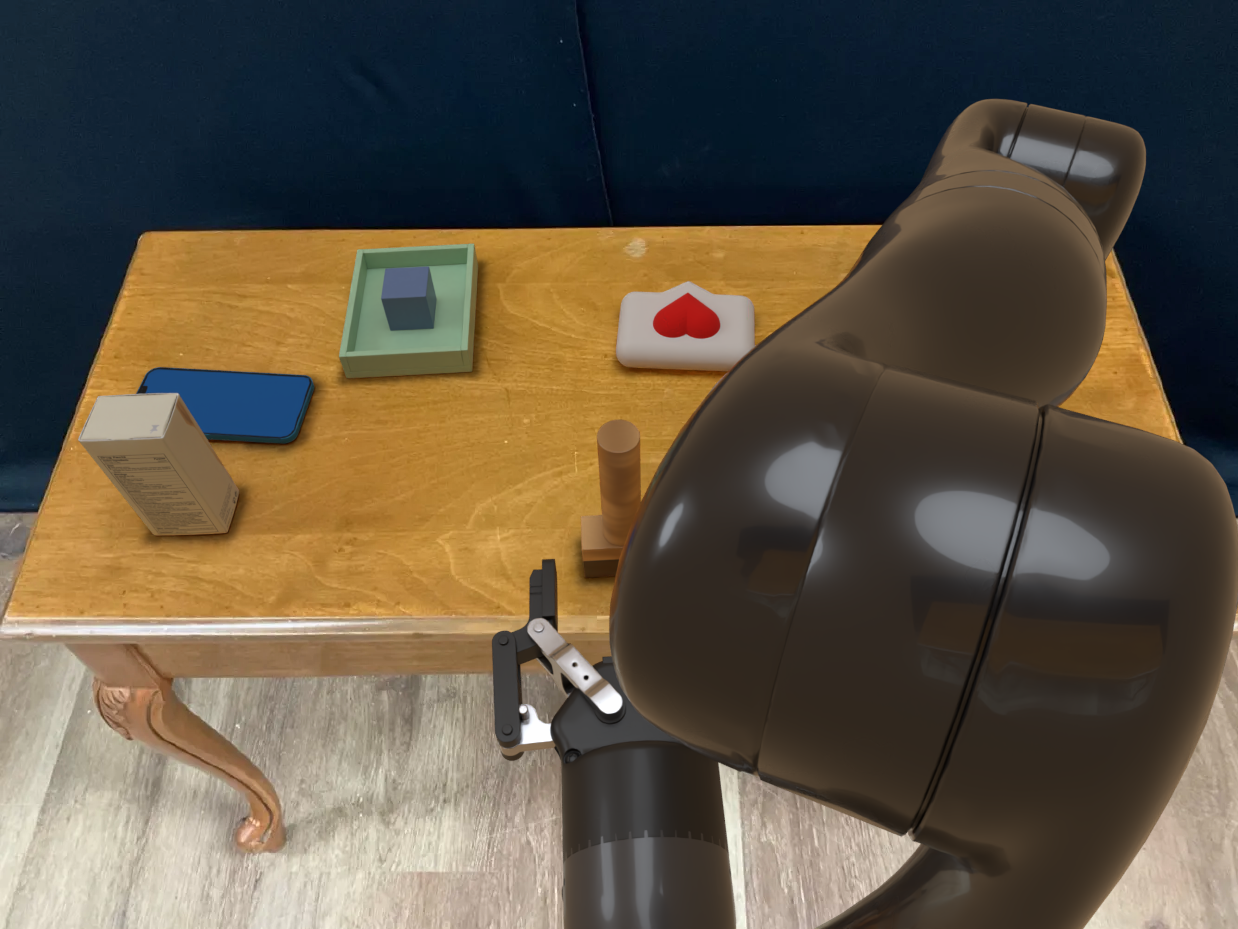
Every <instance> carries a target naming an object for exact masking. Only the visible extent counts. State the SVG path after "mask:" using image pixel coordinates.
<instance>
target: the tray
mask: <svg viewBox="0 0 1238 929" xmlns="http://www.w3.org/2000/svg"><path fill="white" fill-rule="evenodd" d="M426 266H429V268H430V273H431V277H432V281H433V285H434V290H435V294H436V298H437V299H436V310H435V321H434V328H433V329H414V330H395V331H390V328H389V324H388V321H387V318H386V314H385V311H384V307H383V304H382V301H381V295H382V288H383V281H384V274H385V269H387V268H407V267H426ZM478 275H479V263H478V257H477V251H476V246H475V243H457V244H456V243H455V244H439V245H435V244H434V245H419V246H418V245H417V246H403V247H402V246H399V247H379V248H361V249H360V248H358V249H356V255H355V261H354V267H353V272H352V278H351V283H350V284H351V285H350V290H349V296H348V302H347V307H346V313H345V319H344V324H343V329H342V330H343V331H342V336H341V342H340V349H339V353H338V358H339V361H340V364H341V367H342V369H343V373H344V375H345V378H346V379H360V378H362V379H363V378H381V377H399V376H419V375H435V374H454V373H455V374H456V373H472V372H473V365H474V348H475V347H474V346H475V332H476V331H475V329H476V312H477V297H478V296H477V294H478V293H477V292H478V278H479V276H478Z"/></svg>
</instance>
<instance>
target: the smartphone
mask: <svg viewBox="0 0 1238 929" xmlns="http://www.w3.org/2000/svg"><path fill="white" fill-rule="evenodd" d="M314 390H315V384H314V381H313V379H312V377H310V376H309V375H307V374H293V373H275V372H274V373H273V372H259V371H258V372H255V371H241V370H240V371H238V370H223V369H221V370H220V369H203V368H201V369H200V368H187V367H165V366H158V367H157V366H156V367H154V368H151V369H150V370H148V371H147V372H146V373H145V374H144V377H143V379H142V381H141V383H140V384H139V387H138V389H137V391H136V392H135V394H147V393H178V394H179V395H180V397H181V398H182V400H183V402H184V403H185V405H186V406H187V408H188V410H189V411H190V413H191V414H192V416H193V417H194V419H195V421H196V422H197V424H198V425H199V427H200V429H201V430H202V432H203V433H204V435H205V437H206V438H207V440H214V441H233V442H246V443H247V442H250V443H265V444H266V443H267V444H281V445H283V444H289V443H292V442H293V441H295V440H296V439H297V437H298V435H299V434H300V430H301V428H302V424H303V422H304V419H305V416H306V413H307V410H308V407H309V405H310V403H311V399H312V395H313V393H314Z"/></svg>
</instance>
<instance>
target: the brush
mask: <svg viewBox="0 0 1238 929" xmlns="http://www.w3.org/2000/svg"><path fill="white" fill-rule="evenodd" d="M596 444H597V445H596V446H597V448H596V449H597V463H598V477H599V478H598V479H599V492H600V493H599V494H600V509H601V514H594V515H593V514H592V515H590V514H589V515H580V538H581V556H582V565H583V574H584V575H583V576H584V579H588V578H605V577H607V578H609V577H616V572H617V568H618V563H619V558H620V555H621V553H622V550H623V547H624V544H625V541H626V539H627V536H628V533H629V530H630V527H631V524H632V522H633V519H634V517H635V515H636V512H637V510H638V508H639V505H640V503H641V501H642V484H641V483H642V480H641V476H642V474H641V471H642V470H641V432H640V430H639V428H638V427H637V425H636V424H634V423H633V422H631V421H629V420H626V419H612V420H609V421H607V422H605V423H604V424H602V425H601V426H600V427H599V429H598V431H597V433H596Z"/></svg>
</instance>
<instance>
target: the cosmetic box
mask: <svg viewBox="0 0 1238 929" xmlns="http://www.w3.org/2000/svg"><path fill="white" fill-rule="evenodd" d="M77 440H78V442H79V443H80V444H81V446H82V447H83V448H84V449H85V451H86V452H87V453H88V455H89V456H90V457H91V458H92V460H93V461H94V462H95V463H96V465H97V466H98V467H99V468H100V470H101V471H102V472H103V473H104V474H105V476H106V477H107V479H108V480H109V481H110V482H111V484H112V485H113V486H114V487H115V489H117V491H118V492H119V493H120V495H121V496H122V497H123V498H124V500H125V501H126V502H127V503H128V505H129V506H130V507H131V508H132V510H133V511H134V513H135V514H136V515H137V517H139V519H140V520H141V521H142V522H143V523H144V525H145V527H147V529H148V530H149V531H150V533H151V534H152V535H154V536H192V535H193V536H195V535H196V536H197V535H215V534H226V533H228V532H229V530H230V526H231V524H232V521H233V517H234V513H235V510H236V507H237V503H238V499H239V496H240V495H239V494H240V489H239V488H238V486H237V485H236V483H235V481H234V480H233V478H232V477H231V474H230V473H229V471H228V470H227V468H226V467H225V465H224V464H223V462H222V460H221V459H220V457H219V456H218V454H217V452H216V450H215V449H214V448H213V446H212V445H211V442H210V441H209V439H207V438H206V437H205V435H204V433H203V432H202V430H201V429H200V427H199V425H198V424H197V422H196V421H195V419H194V417H193V416H192V414H191V413H190V411H189V410H188V408H187V406H186V405H185V403H184V402H183V400H182V398H181V397H180V395H179V394H178V393H147V394H136V393H129V394H128V393H127V394H125V393H124V394H111V395H98V396H97V397H96V399H95V401H94V403H93V405H92V407H91V410H90V411H89V413H88V416H87V417H86V421H85V422H84V425H83V427H82V429H81V431H80V434H79V436H78V438H77Z"/></svg>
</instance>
